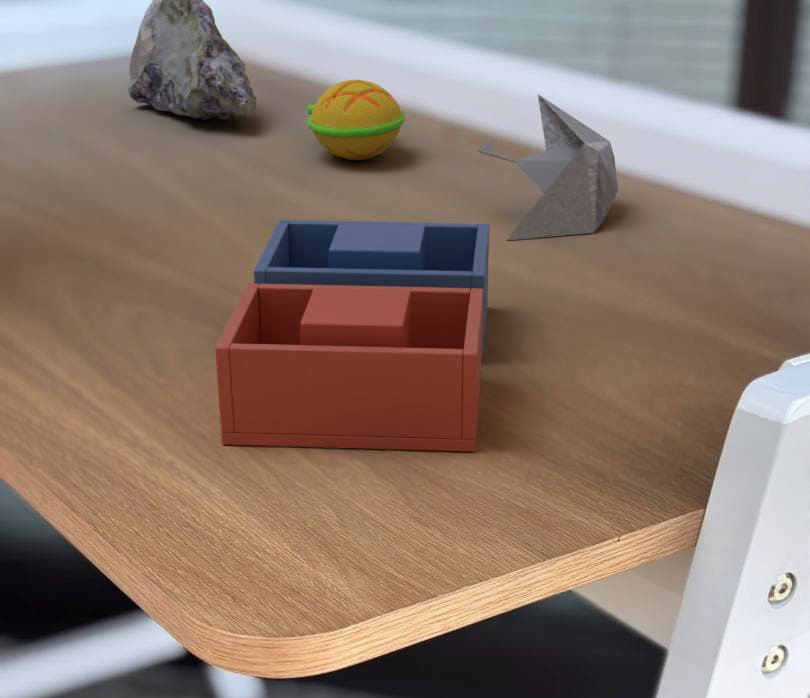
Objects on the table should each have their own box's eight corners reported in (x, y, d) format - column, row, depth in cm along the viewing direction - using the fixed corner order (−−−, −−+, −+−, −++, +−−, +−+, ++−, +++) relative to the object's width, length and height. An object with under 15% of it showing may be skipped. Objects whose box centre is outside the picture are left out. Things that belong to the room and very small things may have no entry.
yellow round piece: (318, 174, 104) (315, 96, 101) (297, 139, 113) (294, 66, 110) (415, 168, 105) (414, 91, 103) (386, 134, 114) (386, 61, 111)
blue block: (330, 335, 76) (328, 249, 74) (341, 304, 80) (338, 222, 78) (419, 337, 76) (419, 251, 73) (425, 306, 80) (425, 223, 77)
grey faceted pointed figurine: (622, 232, 88) (472, 190, 88) (590, 295, 94) (449, 256, 93) (646, 85, 94) (505, 44, 93) (614, 153, 100) (481, 115, 99)
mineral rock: (255, 137, 113) (248, -3, 108) (112, 139, 113) (98, -1, 108) (263, 98, 124) (257, -30, 119) (133, 99, 124) (122, -29, 119)
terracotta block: (303, 417, 67) (299, 322, 65) (316, 378, 71) (313, 287, 69) (403, 420, 67) (402, 325, 65) (410, 380, 71) (410, 289, 69)
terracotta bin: (221, 444, 66) (214, 347, 64) (252, 372, 73) (247, 282, 71) (475, 452, 65) (477, 354, 63) (481, 378, 73) (483, 288, 70)
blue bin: (258, 358, 75) (253, 270, 73) (282, 301, 82) (279, 219, 80) (482, 364, 74) (484, 275, 72) (487, 306, 81) (489, 223, 79)
